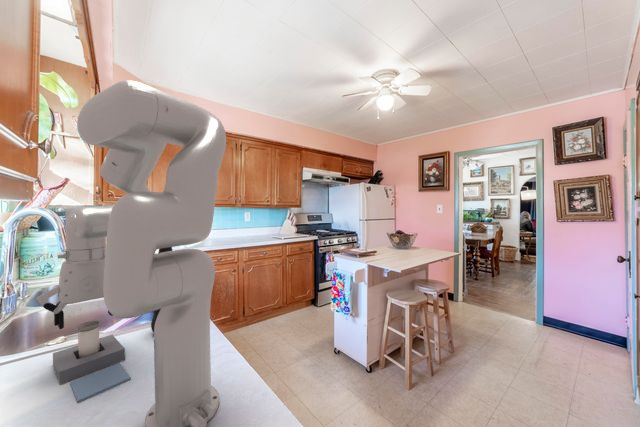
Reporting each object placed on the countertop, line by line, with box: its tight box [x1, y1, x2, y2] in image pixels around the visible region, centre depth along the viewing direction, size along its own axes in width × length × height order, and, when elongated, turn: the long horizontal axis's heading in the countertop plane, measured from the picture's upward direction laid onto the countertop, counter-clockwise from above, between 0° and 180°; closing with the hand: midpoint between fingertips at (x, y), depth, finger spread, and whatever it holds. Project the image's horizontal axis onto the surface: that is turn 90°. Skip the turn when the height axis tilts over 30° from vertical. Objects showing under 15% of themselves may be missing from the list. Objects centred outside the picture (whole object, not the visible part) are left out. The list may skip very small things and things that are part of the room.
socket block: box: [52, 334, 126, 386], centre depth 65 cm, size 12×12×3 cm
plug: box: [77, 320, 101, 359], centre depth 65 cm, size 4×4×10 cm
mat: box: [69, 362, 132, 404], centre depth 58 cm, size 9×9×1 cm
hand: (87, 320), depth 65 cm, fingers open, 9 cm apart
